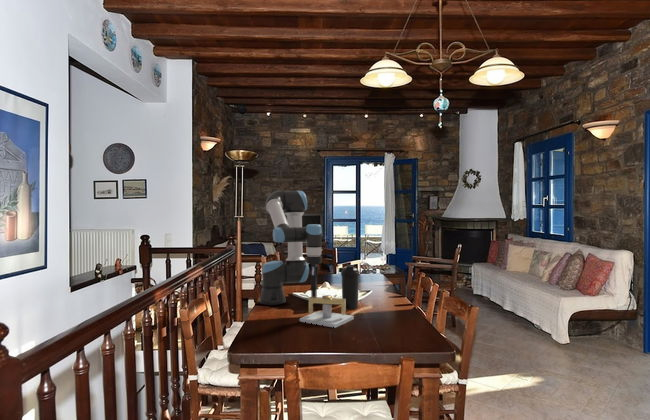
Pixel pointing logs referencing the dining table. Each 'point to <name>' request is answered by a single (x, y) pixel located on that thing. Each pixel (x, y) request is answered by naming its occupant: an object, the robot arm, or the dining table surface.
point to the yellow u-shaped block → (327, 302)
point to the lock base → (326, 321)
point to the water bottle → (350, 286)
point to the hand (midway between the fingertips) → (314, 302)
